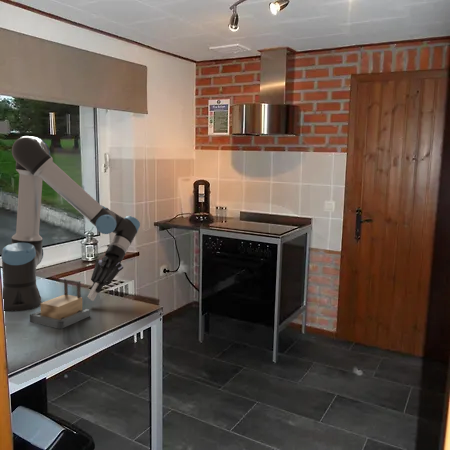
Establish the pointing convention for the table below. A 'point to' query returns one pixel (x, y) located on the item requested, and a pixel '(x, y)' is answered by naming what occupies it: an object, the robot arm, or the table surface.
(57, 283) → the table surface
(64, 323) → the frame
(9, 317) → the table surface
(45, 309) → the cart
